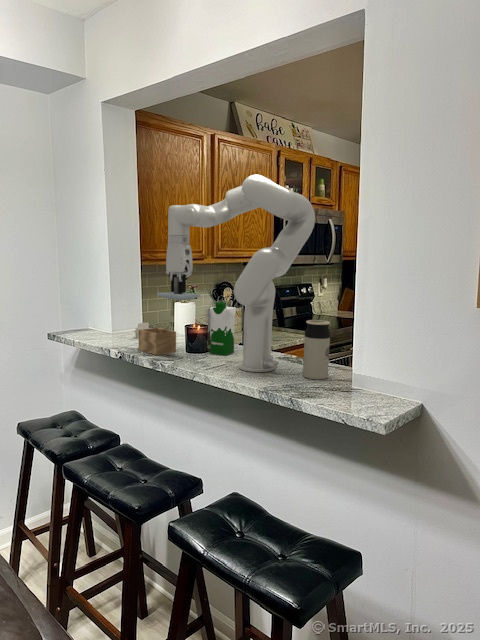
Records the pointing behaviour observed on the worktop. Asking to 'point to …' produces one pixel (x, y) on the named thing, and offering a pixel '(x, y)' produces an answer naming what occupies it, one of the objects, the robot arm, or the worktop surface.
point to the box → (157, 341)
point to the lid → (176, 295)
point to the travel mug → (316, 350)
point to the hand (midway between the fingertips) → (178, 291)
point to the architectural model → (141, 328)
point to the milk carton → (222, 329)
